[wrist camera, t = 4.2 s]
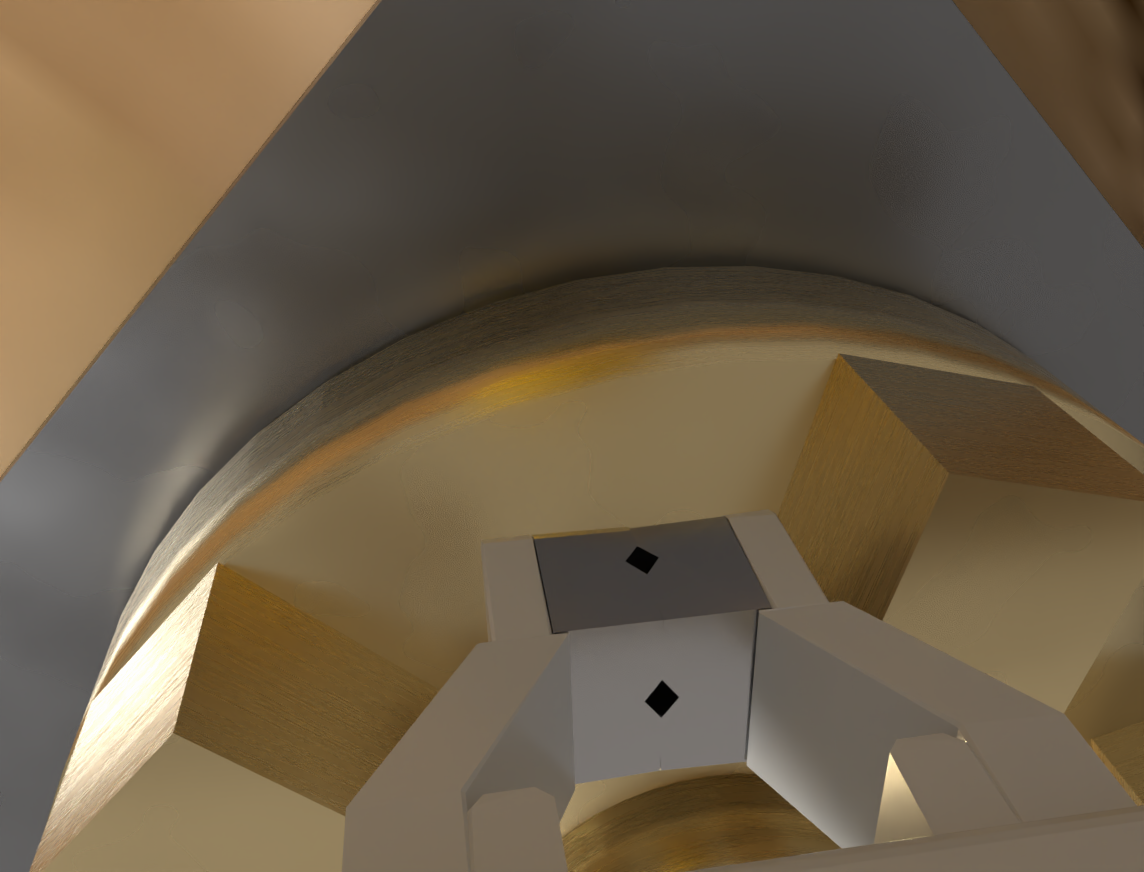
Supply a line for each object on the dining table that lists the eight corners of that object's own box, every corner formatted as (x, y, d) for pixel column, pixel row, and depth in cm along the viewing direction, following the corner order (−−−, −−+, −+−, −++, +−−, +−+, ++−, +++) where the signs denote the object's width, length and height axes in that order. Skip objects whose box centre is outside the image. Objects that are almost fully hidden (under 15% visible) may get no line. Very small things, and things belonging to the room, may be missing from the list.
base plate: (-294, 848, 17) (-328, 896, 16) (653, -350, 11) (672, -368, 10) (641, 1179, 26) (648, 1219, 25) (1417, 624, 20) (1458, 655, 19)
